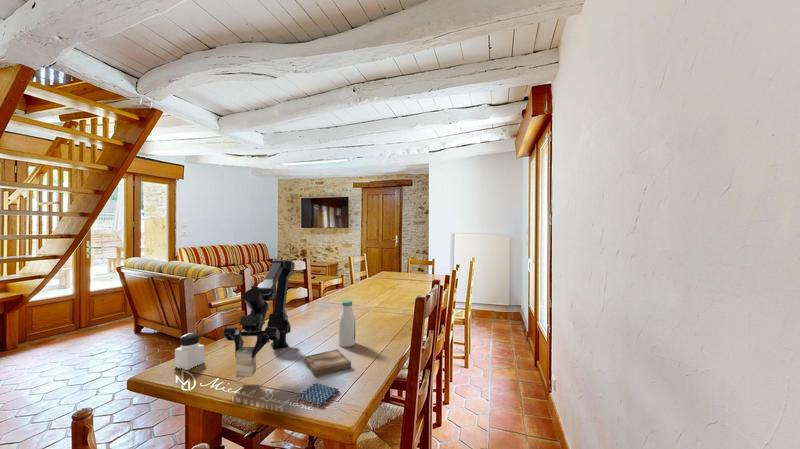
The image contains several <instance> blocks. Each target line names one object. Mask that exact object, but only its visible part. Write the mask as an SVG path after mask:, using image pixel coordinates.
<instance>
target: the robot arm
mask: <svg viewBox="0 0 800 449" xmlns="http://www.w3.org/2000/svg"><path fill="white" fill-rule="evenodd" d="M295 265H296V263H295V262H294V261H293V260H292V259H273V260H272V262H271V266H270V268H269V270H268V272H267V274H266V276H265V278H264V280H263V281H262V282H261V281H260V283H258V285H256V286H255V285H254V286H251V288H250V289H248V290H247V291H246V292H244V293H243V296H242V298H243V301H244V302H245V303H246V305H247V307H248V308H249V309H250V311H249V312H250V313H249V314H247V315H240V317H239V318H240V319H239V324H238V325H239V326H241V328H242V329H243V330H240V329H238V327H237V326H226V327H225V328H224V329H223V331H222V333H221V335H222V336H223V337H224V338H225V339H226V341H229V342H231V341H233V342H234V347H235V348H234V350H235V358H236V351H237V350H238V349H240V348H241V347H244V346H243V345H244V342H245V341H244V339H243V337H256V341H255V343H254V346H253V347H254V350H253V353H252V358H254V357H255V355H256V356H257V354H258V353H259V352H260V350H261V349H262V348H263V347H264V346H265V345H266V344H268V343H270V346H271V348H272V349H273V350H276V349H281V348H285V347H286V348H287V347H289V344H288V343H287V334H290V333H291V327H292V325H291V323H290V321H289V316H288V314H287V312H286V307H287V306H286V304H287V296H288V289H289V288H288V287H289V280H290V278H291V277H292V276H293V274H294V270H295ZM276 285H277V286H276ZM274 299H275V301H274V309H273V311H272V312H271V313H270V314H269V316H268V321H267V323H266V321H265V320H266V316H267V313H268V312H269V311H270V308H269V307H270V305H269V303H268V302H272V301H273V300H274ZM265 323H266V324H267V326H266V327H265V329H264V330H263V327H264V325H266V324H265ZM270 341H272V342H270Z"/></svg>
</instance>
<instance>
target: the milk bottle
mask: <svg viewBox="0 0 800 449" xmlns="http://www.w3.org/2000/svg"><path fill="white" fill-rule="evenodd" d="M341 304H342V305H341V307H342V310H341V312H340V314H339V318H338V342H337V343H338V345H339V347H342V348H349V347H353V346H355V344H356V315H355V313H354V311H353V301H352V300H343V301H342V302H341Z"/></svg>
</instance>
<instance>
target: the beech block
mask: <svg viewBox="0 0 800 449" xmlns="http://www.w3.org/2000/svg"><path fill="white" fill-rule="evenodd" d="M254 347H255V346H242V347H241V348H240V349H238V350H237V351H236V357H235V360H236V361H235V372H236V373H235V376H236V377H235V378H239V379H240V378H241V379H242V378H252V377H253V376H254V375H255V373H256V372H257V354H256V355H255V357H254V358H252V353H253V350H254Z"/></svg>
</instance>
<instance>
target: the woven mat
mask: <svg viewBox="0 0 800 449" xmlns="http://www.w3.org/2000/svg"><path fill="white" fill-rule="evenodd" d="M340 392H341V391H340V390H339V388H337V387H334V386H331V385H330V386H329V385H325V384H322V383H312V385H309V387H308V388H306V389H305V390H303V391H302V392H300V393H299V395H296V399H295V401H296V402H300V403H302V404H306V405H307V406H314V407H316V408H320V409H323V408H324V407H325V406H326V405H328V403H330V402H331V401H332V400H333V399H334V398H335V397H337V396H338V395H339V394H340Z"/></svg>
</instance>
